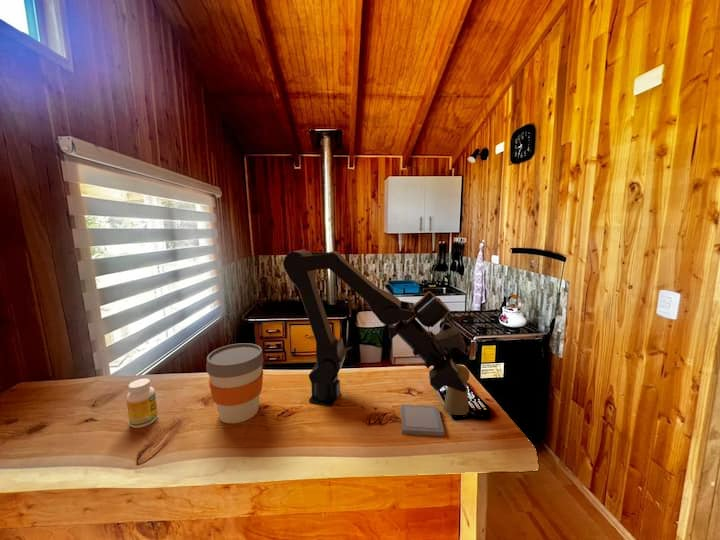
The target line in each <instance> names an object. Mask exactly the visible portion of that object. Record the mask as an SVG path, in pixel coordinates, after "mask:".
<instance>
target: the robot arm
mask: <svg viewBox="0 0 720 540" xmlns="http://www.w3.org/2000/svg"><path fill="white" fill-rule="evenodd" d="M282 265H283V268H284V270H285V273H286V274H287V277H288V278H289V281H291V283H293V284H294V285H295V287H296V288H297V290H298V292H299V295H300V298H301V300H302V304H303V306H304V310H305V313H306V315H307V319H308V323H309V325H310V328H311V330H312V333H313V337H314V340H315V360H316V364H314V367H313V368H312V369H311V370H310V373H309V374H308V378H309V381H310V383H311V384H310V385H311V397H309V399H308V401H309V403H313V404H318V405H325V406H333V405H334V404H335V402H336V401H337V399H338V398H339V396H340V394H341V380H340V379H339V374H338V373H339V371H340V370H341V368H342V366H343V364H344V361H345V359H346V353H347V348H345V345H344V341H343V339H344V338H343V337H340V338H337V337H336V336H335V335H334V334H333V331H332V329H331V328H332V327H331V326H330V323H329V319H328V316H327V313H326V310H325V307H324V304H323V300H322V297H321V295H320V291H319V288H318V286H317V281H316V280H317V279H316V278H317V277H316V276H317V271H319V270H330V271H331V272H332V273H333V274H334V275H335V276H337V277H338V278H339V279H340V280H341V281H343V282H344V283H345V284H346V285H347V286H348V287H349V288H351V289H352V290H353V291H354V292H355V293H356V294H357V295H358V296H359V297H361V298H362V299H363V300H364V301H365V302H366V304H368V307H369V308H370V310H371V312H372V313H373V314H374V315H375V317H376V318H377V319H378V320H379V322H381V323H382V324H384V325H385V326H388V332H389V335H388V339H389V340H393V339H394V338H395V337H396V336H398V337H399V338H401V340H402V341H403V342H404V343H405V344H406V345H408V347H409V348H410V349H411V350H412V354H413V355H414V357H417V356H418V357H419V358H420V359H421V360H422V361H423V362H424V366H425V368H426V369H430V368H431V367H433V368H431V370H428V371H429V372H428V378H429V379H428V380H429V384H430V386H431V387H432V388H433V389H434V390H435V391H438V392H439V391H440V390H441V389H442V388H444V387H450V388H453V389H456V390H459V391H462V392H465V391H466V390H467V391H468V387H467V388H466V386H465V385H464V384H463V382H462V381H461V379H460V378H459V376H458V375H457V374H458V371H457V367H456V365H457V364H456V362H454V361H453V359H452V349H454V348H459V347H463V346H464V345H465V341H464V338H463V336H462V334H461V332H460V330H459V328H458V326H456V325H451V324H450V323H449V322H445V323H442V324H441V330H439V331H438V332H437V333H436V334H435V333H434V332H433V331H431V330H427V329H426V328H430V327H431V328H433V327H435V326H436V325H437V324H438V323H439V322H441V320H443V319H444V318H446V317H447V316H448V315H449V314H450V313H451V310H450V309H449V307H448V306H447V305H446V304H445V303H444V302H443V301H442V299H441V298H439V297H437V296H436V295H435V294H433V293H432V291H430V290H428V291H427V292H426V293H425V294H424V295H423V296H422V297H421V298H420V299H419V300H418V301H417V302H415V303H414V302H410V301H404V300H400V299H399V298H398V297H397V296H395V295H393V294H392V293H390V292H388V291H386V290H384V289H382V288H380V287H378V286H377V285H375V283H373V282H372V281H371V280H369V279H368V277H366V276H365V275H363V274H362V272H360V271H359V270H358V269H357V268H356V267H354V266H353V265H352V264H351V263H350V262H349V261H348V260H346V259H345V258H344V257H343V256H342V255H341V253H340V252H338V251H335V250H333V251H327V252H326V251H323V252H320V251H319V252H310V251H309V250H307V249H299V250H294V251H291V252H289V253H287V255H286V256H285V257H284V259H283V262H282Z"/></svg>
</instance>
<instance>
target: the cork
mask: <svg viewBox="0 0 720 540" xmlns="http://www.w3.org/2000/svg"><path fill="white" fill-rule="evenodd" d="M456 367H457V371H458V374H457V375H458V376H459V378H460V379H461V381H462V382H463V384H464V385H465V386H466V388H467V390H466V391H465V392H462V391H459V390H456V389H453V388H450V387H447V386H446V387H447V388H446V393H445V398H444V403H443V410H444V411H445V413H447V414H448V415H450V416H453V415H452V414H454V415H466V414H467V413H468V412H469V413H470V407H469V406H470V405H469V395H468V381H469V379H470V371H469V370H468V368H467V367H465V366H463V365H462V364H461V365H460V364H456ZM466 416H467V415H466Z"/></svg>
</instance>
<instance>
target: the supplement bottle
mask: <svg viewBox="0 0 720 540" xmlns="http://www.w3.org/2000/svg"><path fill="white" fill-rule="evenodd" d="M127 388H128V393H127V394H126V397H125V398H126V399H125V400H126V407H127V413H128V414H127V415H128V420H129V426H131V427H132V428H135V429H140V428H143V427H147V426H149V425H151V424H153V423H154V422H155V421H156V420H157V419H158V415H159V413H158V403H157V397H156V390H155V388H154V387H152V386H151V380H150V379H149V378H139V379H136V380H134V381H131V382H130V383H128V387H127Z"/></svg>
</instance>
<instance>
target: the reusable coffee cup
mask: <svg viewBox="0 0 720 540" xmlns="http://www.w3.org/2000/svg"><path fill="white" fill-rule="evenodd" d="M263 363H264V355H263V349H262V347H261V346H260V345H258V344H255V343H250V342H249V343H247V342H246V343H245V342H244V343H243V342H242V343H233V344H227V345H225V346H221V347H219V348H215V349H214V350H213V351H211V352H210V353H209V354H208V355H207V357H206V365H205V366H206V374H208V377H209V380H208V384H209V389H210V393H211V394H210V395H211V396H212V401H213V402H214V403H215V404H216V409H217V412H218V417H219V420H220V421H221V422H223V423H226V424H237V423H238V424H239V423H243V422H245V421H248V420H250V419H251V418H253V417H254V416H256V414H257V413H258V411H259V408H260V395H261V394H260V393H261V392H262V389H263V379H264V370H263V368H262V367H263Z"/></svg>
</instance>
